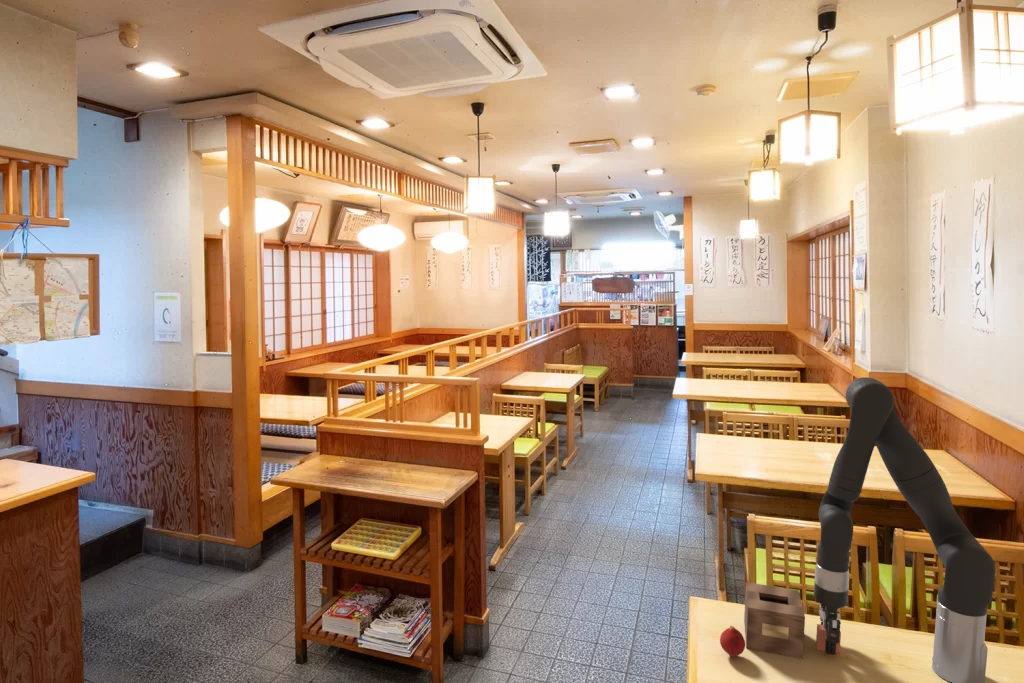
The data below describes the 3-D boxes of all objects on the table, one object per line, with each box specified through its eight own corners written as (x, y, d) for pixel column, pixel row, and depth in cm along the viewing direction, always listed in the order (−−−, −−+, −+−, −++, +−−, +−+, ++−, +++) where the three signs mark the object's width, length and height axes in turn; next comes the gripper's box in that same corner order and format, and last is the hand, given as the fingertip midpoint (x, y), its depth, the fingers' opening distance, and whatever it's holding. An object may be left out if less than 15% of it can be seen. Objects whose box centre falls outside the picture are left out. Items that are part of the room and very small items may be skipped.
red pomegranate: (740, 649, 149) (741, 619, 148) (747, 664, 144) (748, 633, 143) (717, 648, 150) (718, 618, 149) (722, 662, 144) (724, 632, 143)
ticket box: (796, 629, 158) (798, 590, 156) (802, 659, 145) (805, 617, 144) (744, 619, 162) (745, 582, 161) (746, 648, 150) (748, 607, 148)
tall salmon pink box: (837, 647, 150) (839, 627, 149) (839, 653, 147) (840, 633, 147) (815, 644, 151) (817, 623, 151) (817, 649, 149) (818, 629, 149)
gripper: (854, 600, 139) (850, 665, 141) (842, 571, 153) (838, 631, 155) (819, 594, 142) (815, 659, 144) (810, 567, 155) (807, 626, 157)
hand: (827, 644), depth 149 cm, fingers open, 7 cm apart
